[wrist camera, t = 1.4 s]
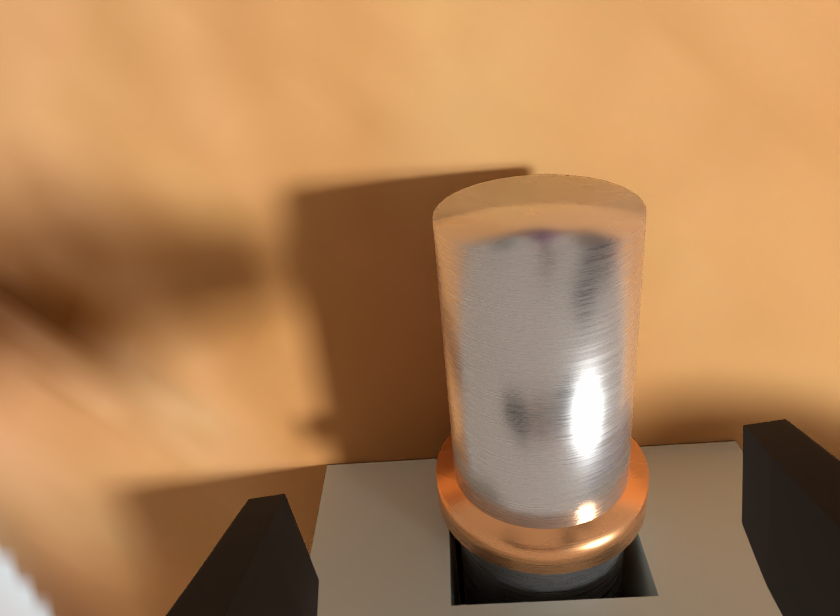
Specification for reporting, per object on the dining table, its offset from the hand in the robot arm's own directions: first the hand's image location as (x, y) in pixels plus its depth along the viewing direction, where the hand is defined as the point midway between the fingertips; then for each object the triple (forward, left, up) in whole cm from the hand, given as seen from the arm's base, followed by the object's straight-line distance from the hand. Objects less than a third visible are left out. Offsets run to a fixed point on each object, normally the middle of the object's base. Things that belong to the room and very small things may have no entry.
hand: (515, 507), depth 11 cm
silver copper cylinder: (-1, +5, -9) cm, 10 cm away
